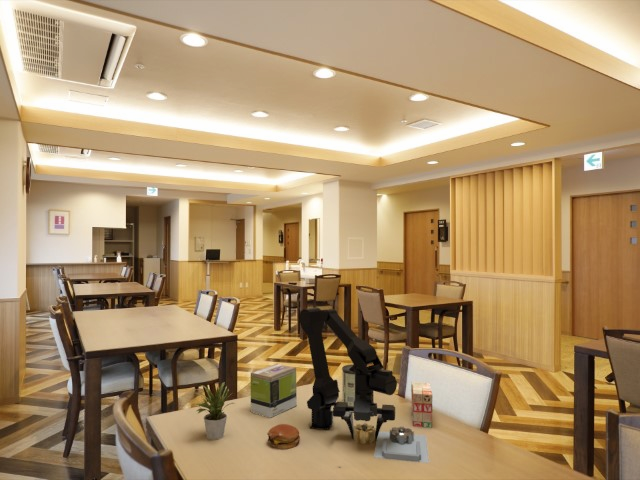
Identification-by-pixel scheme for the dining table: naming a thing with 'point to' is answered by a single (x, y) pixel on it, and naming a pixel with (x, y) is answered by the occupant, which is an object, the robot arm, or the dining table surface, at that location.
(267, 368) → the tea box
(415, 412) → the stack of blocks
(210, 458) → the dining table surface
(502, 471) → the dining table surface
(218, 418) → the house plant
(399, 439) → the gear
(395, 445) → the gear board
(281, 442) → the burger
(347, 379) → the coffee can
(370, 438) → the brass gear
